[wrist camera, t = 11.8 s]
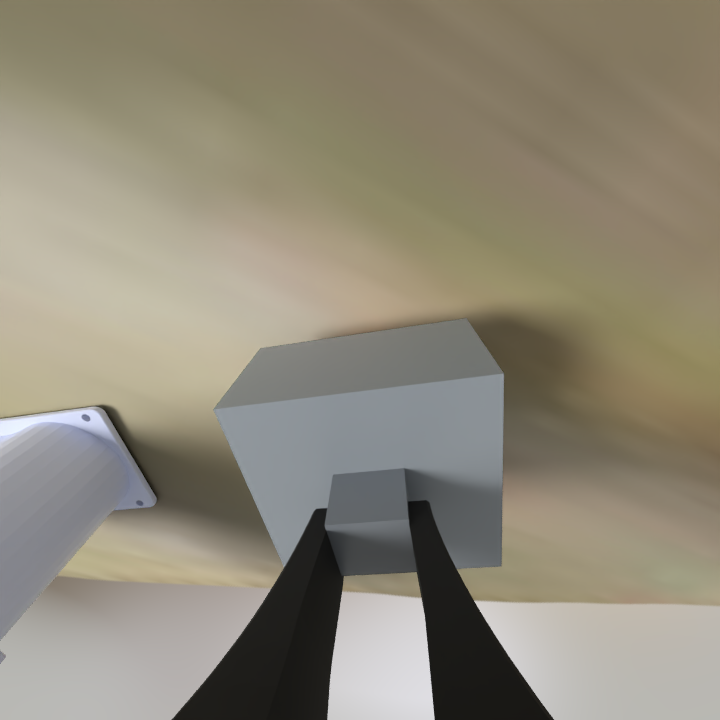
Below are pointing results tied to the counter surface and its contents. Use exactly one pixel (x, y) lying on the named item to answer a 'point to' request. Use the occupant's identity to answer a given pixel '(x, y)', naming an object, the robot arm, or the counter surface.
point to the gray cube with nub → (374, 443)
